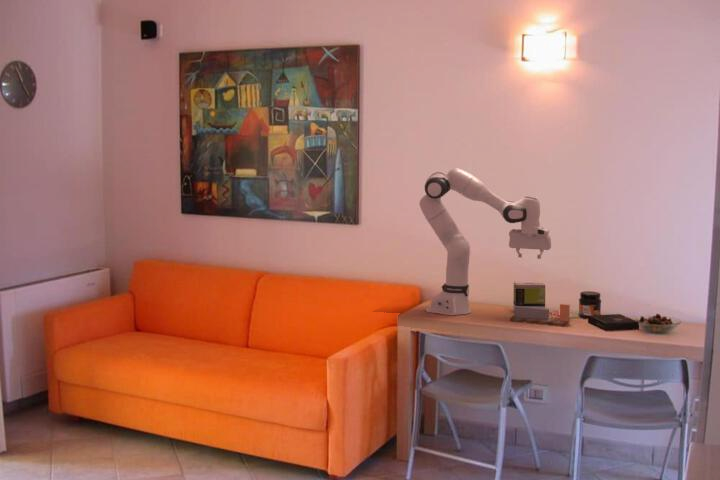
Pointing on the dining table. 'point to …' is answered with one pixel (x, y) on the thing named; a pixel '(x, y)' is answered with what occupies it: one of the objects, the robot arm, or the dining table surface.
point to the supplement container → (589, 304)
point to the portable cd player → (613, 322)
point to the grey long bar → (532, 312)
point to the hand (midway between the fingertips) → (529, 257)
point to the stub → (564, 312)
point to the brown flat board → (540, 321)
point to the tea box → (529, 294)
